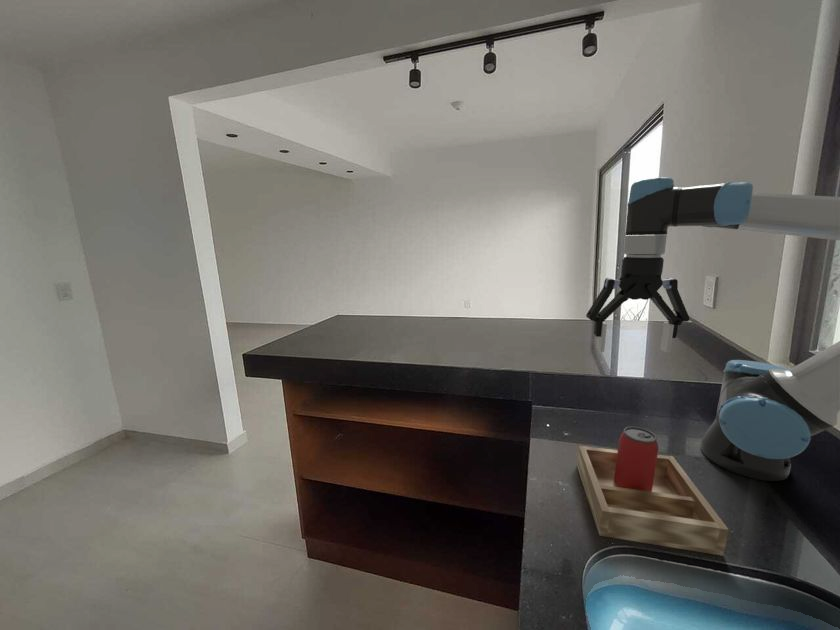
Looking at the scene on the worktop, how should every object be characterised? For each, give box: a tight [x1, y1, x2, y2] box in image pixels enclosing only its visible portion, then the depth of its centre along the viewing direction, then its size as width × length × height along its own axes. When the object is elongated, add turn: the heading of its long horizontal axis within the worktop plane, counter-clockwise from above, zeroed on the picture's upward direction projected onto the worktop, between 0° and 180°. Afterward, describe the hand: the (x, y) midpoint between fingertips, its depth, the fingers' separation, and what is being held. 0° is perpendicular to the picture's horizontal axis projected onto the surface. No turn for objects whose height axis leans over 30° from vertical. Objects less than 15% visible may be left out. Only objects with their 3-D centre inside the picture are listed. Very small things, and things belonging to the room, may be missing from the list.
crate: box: [576, 445, 729, 557], centre depth 68 cm, size 18×19×5 cm
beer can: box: [614, 426, 659, 492], centre depth 70 cm, size 7×7×12 cm
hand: (632, 351), depth 80 cm, fingers open, 13 cm apart
